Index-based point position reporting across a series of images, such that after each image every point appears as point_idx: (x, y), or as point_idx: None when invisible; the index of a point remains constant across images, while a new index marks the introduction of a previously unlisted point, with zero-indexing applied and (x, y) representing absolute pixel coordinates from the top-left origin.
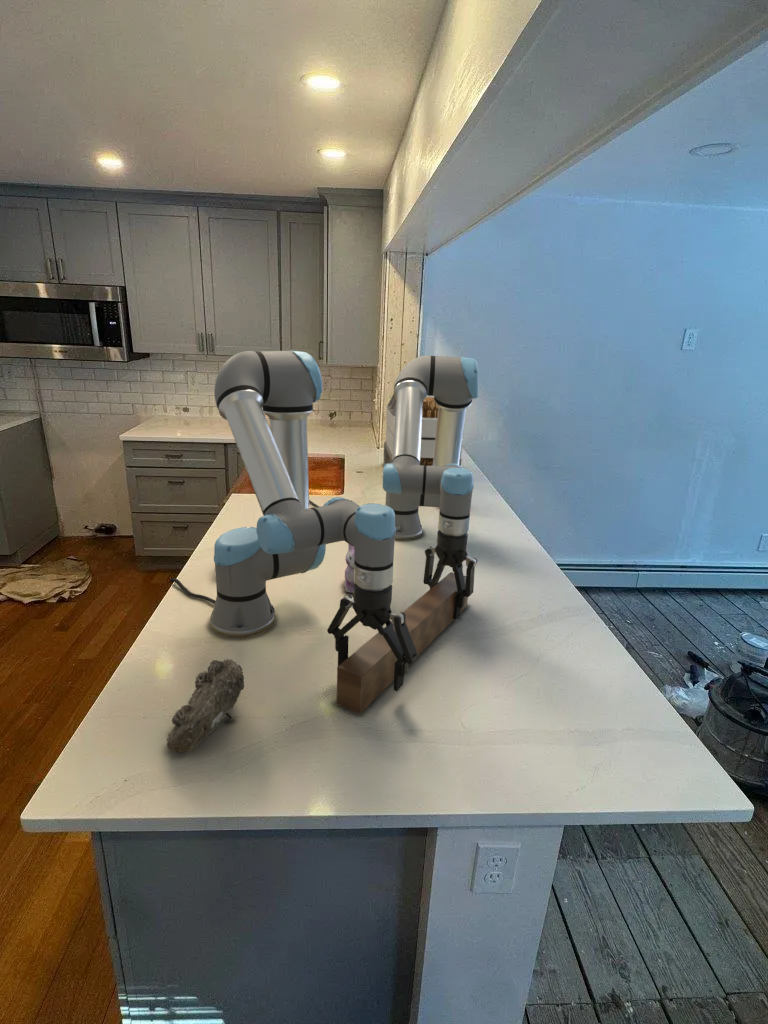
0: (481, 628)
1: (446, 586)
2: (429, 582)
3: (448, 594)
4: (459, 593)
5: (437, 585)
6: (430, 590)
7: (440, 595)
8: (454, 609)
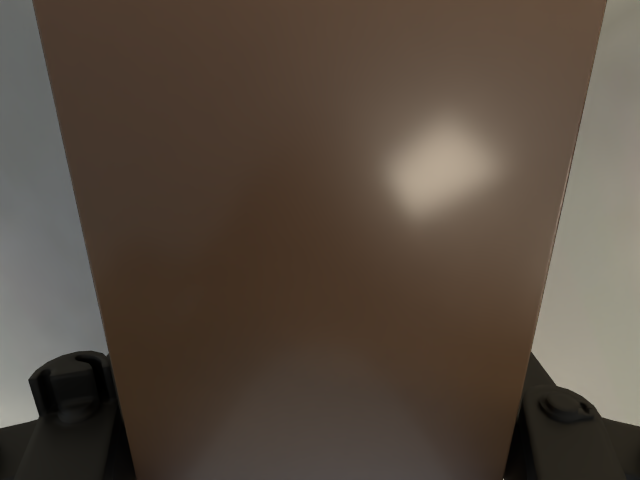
0: (17, 257)
1: (323, 477)
2: (628, 462)
3: (135, 259)
4: (85, 426)
5: (471, 433)
6: (531, 199)
7: (241, 115)
8: None
